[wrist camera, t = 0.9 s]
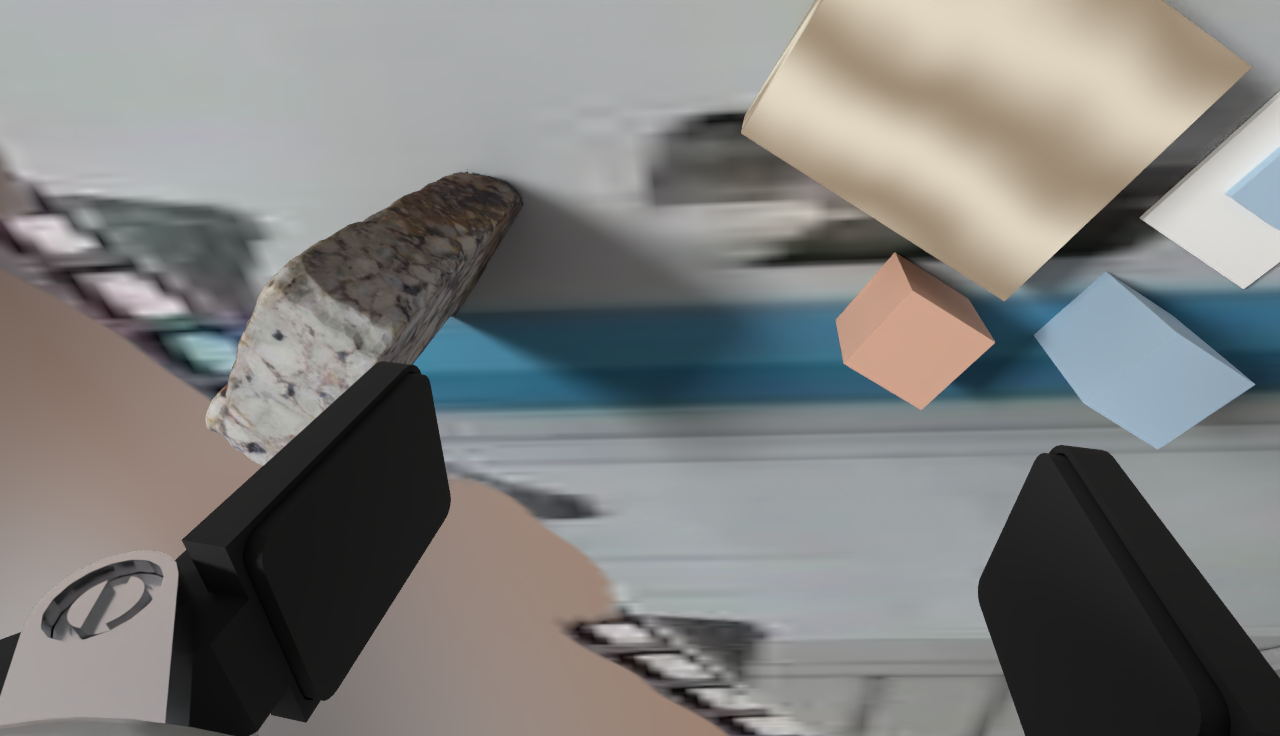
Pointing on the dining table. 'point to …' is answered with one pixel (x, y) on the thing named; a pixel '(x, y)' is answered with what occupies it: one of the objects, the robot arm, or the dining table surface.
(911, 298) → the terracotta cube
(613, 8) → the dining table surface
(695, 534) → the dining table surface
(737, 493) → the dining table surface
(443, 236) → the stone block
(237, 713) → the robot arm
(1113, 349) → the blue block
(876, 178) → the ash base block
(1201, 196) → the card
